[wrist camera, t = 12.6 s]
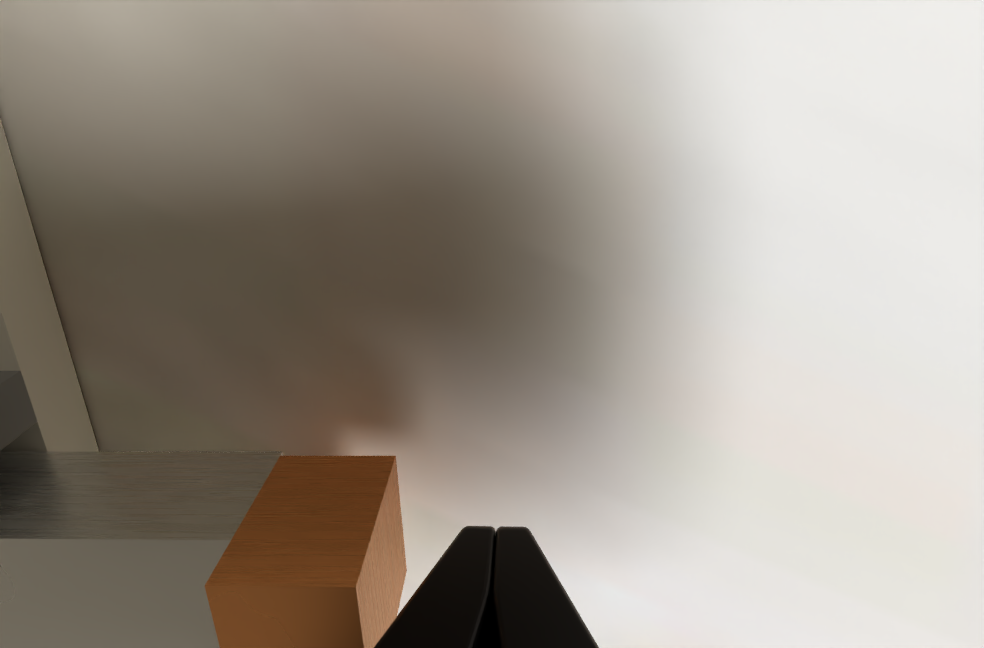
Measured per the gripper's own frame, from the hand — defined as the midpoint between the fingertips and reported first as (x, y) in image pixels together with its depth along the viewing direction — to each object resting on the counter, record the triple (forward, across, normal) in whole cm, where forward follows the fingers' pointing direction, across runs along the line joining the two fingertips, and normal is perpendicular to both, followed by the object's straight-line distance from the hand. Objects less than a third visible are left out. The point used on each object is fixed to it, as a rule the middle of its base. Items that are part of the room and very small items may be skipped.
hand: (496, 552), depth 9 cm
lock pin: (+1, +7, 0) cm, 7 cm away
